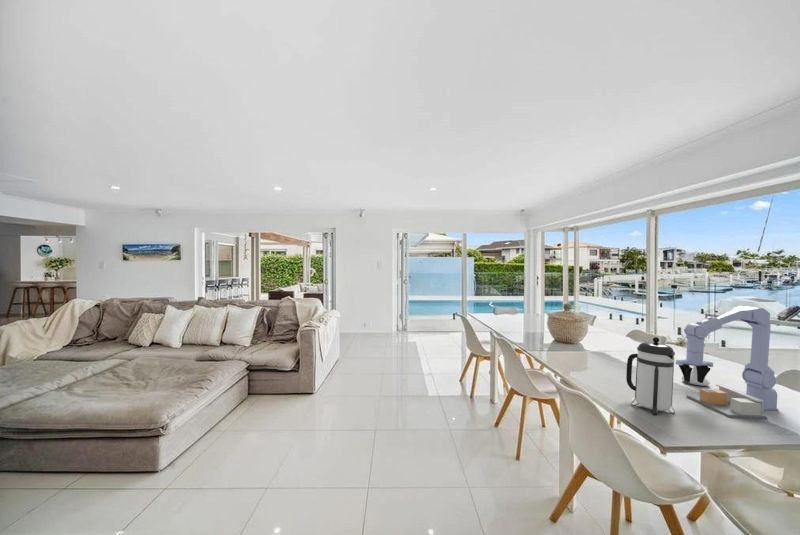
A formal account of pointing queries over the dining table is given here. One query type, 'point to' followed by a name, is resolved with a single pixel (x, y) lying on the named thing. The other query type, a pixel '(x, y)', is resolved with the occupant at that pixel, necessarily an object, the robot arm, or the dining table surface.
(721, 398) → the block
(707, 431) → the dining table surface
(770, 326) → the robot arm
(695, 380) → the flower in vase
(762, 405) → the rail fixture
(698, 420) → the dining table surface
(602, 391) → the dining table surface
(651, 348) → the coffee press
